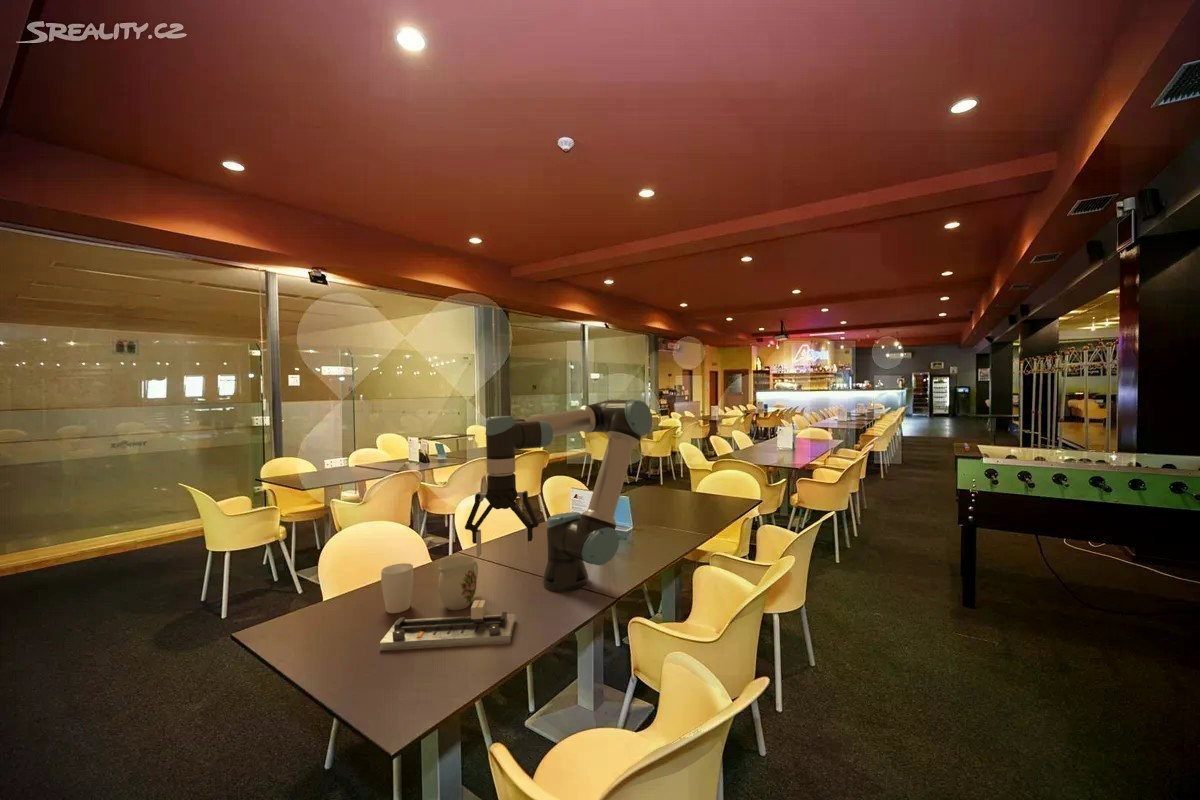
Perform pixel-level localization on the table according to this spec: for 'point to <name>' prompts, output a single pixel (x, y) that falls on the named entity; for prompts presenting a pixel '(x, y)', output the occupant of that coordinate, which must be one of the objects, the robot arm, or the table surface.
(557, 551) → the robot arm
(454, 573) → the pitcher
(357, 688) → the table surface
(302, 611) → the table surface
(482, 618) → the fader
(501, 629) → the console
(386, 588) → the cup
